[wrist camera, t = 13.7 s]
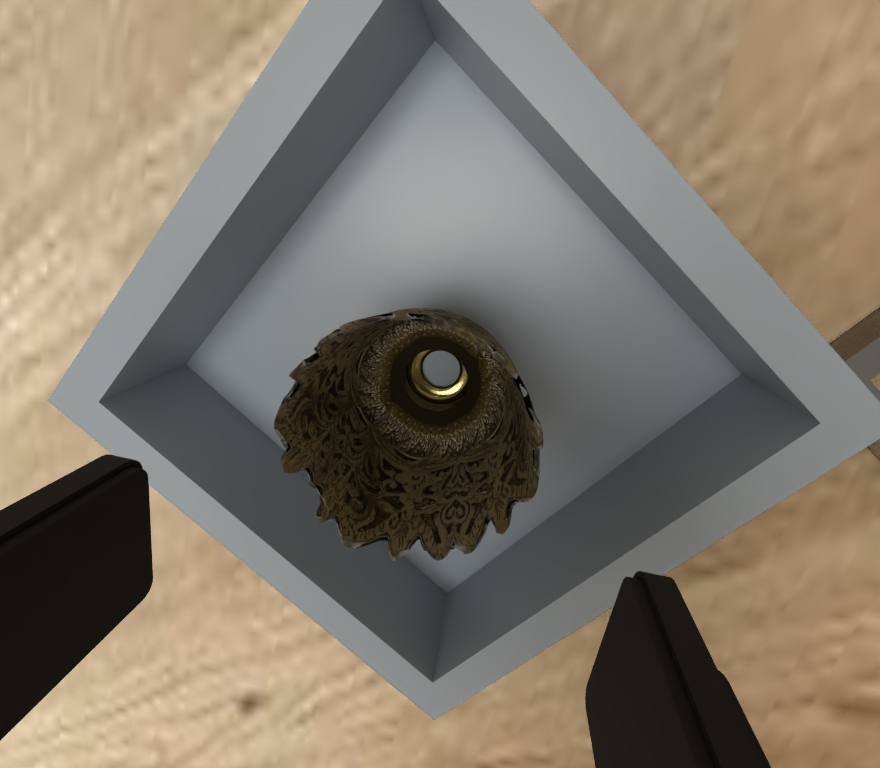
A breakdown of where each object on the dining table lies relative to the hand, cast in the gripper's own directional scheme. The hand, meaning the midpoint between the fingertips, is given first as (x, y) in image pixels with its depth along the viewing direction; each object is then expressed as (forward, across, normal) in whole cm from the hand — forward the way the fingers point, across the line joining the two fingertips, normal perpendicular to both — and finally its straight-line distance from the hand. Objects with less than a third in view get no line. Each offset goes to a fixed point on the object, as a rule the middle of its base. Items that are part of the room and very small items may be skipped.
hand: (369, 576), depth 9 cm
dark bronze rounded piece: (+12, 0, -1) cm, 12 cm away
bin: (+13, 0, -1) cm, 13 cm away
